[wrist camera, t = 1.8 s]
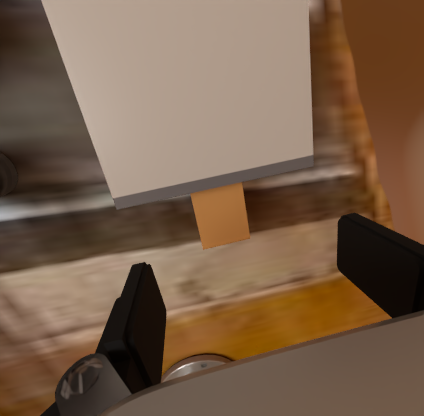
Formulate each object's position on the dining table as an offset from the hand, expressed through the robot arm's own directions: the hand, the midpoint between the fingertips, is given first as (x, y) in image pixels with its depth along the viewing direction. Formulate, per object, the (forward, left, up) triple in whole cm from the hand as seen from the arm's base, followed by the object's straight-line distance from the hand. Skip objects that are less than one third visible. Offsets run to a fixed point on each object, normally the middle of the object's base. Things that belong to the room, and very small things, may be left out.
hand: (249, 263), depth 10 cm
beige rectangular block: (+7, -7, -14) cm, 17 cm away
